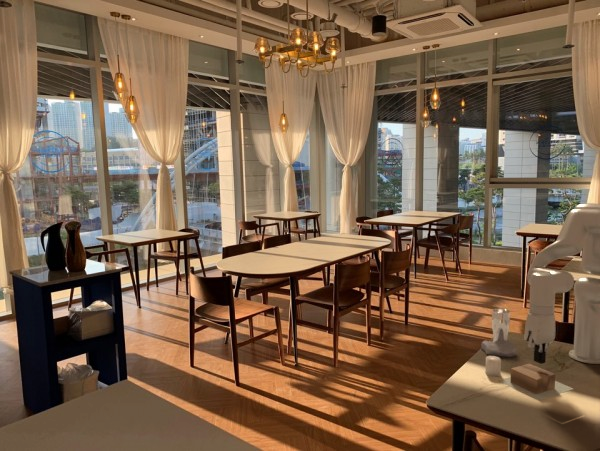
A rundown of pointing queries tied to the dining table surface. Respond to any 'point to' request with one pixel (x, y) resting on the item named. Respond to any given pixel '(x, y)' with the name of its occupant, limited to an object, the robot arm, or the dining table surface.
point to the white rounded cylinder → (493, 366)
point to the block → (533, 378)
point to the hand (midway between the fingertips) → (539, 361)
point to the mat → (558, 389)
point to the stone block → (499, 348)
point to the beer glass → (500, 324)
